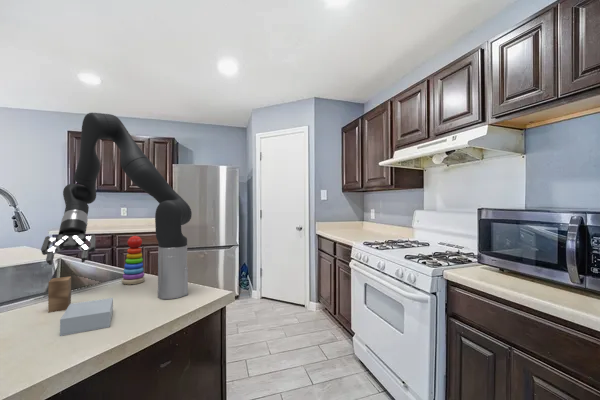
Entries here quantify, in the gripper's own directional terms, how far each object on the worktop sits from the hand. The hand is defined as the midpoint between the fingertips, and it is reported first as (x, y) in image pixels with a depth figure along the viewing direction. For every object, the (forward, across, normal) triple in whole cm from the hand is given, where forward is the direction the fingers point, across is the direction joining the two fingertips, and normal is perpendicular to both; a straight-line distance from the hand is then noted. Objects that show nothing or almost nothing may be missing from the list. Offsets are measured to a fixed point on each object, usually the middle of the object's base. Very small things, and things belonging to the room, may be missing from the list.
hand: (66, 262), depth 93 cm
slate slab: (+26, +9, -9) cm, 29 cm away
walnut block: (+15, 0, +3) cm, 15 cm away
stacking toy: (0, +19, +18) cm, 26 cm away
